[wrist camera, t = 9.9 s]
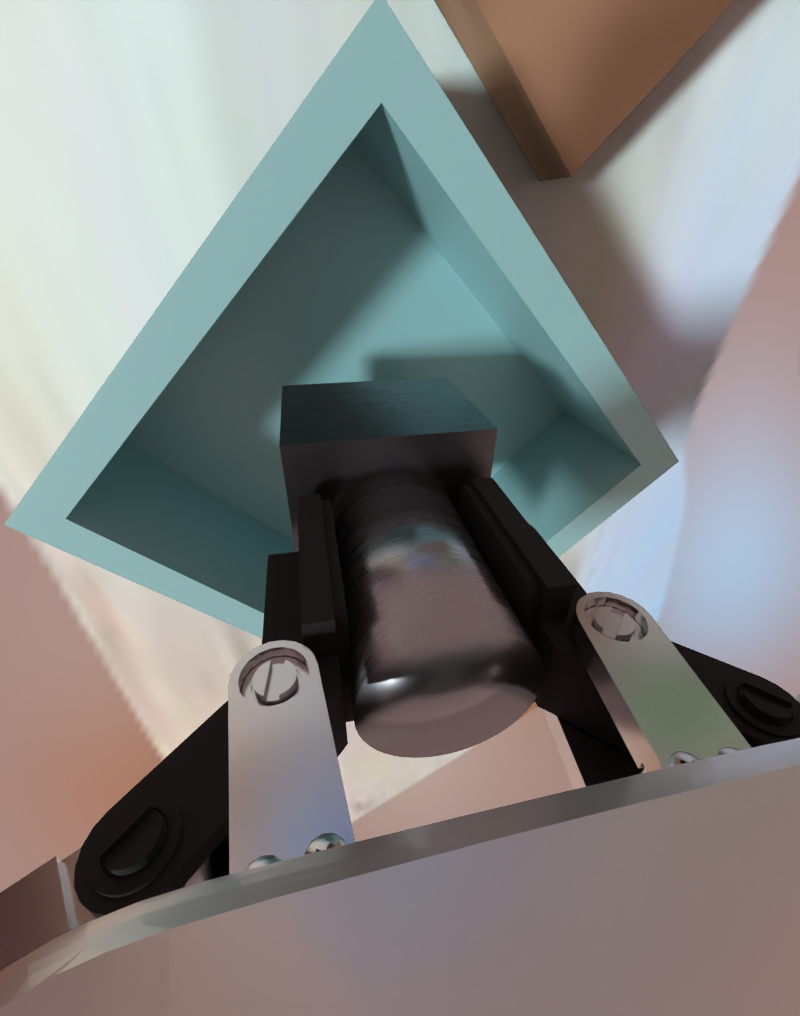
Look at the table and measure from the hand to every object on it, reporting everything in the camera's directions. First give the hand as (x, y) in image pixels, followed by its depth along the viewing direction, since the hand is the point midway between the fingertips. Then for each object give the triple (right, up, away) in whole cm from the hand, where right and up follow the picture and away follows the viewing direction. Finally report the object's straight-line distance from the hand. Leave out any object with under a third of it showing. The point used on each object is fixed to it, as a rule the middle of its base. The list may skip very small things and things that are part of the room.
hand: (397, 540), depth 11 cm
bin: (-2, +5, +7) cm, 9 cm away
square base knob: (-1, +3, +4) cm, 5 cm away
